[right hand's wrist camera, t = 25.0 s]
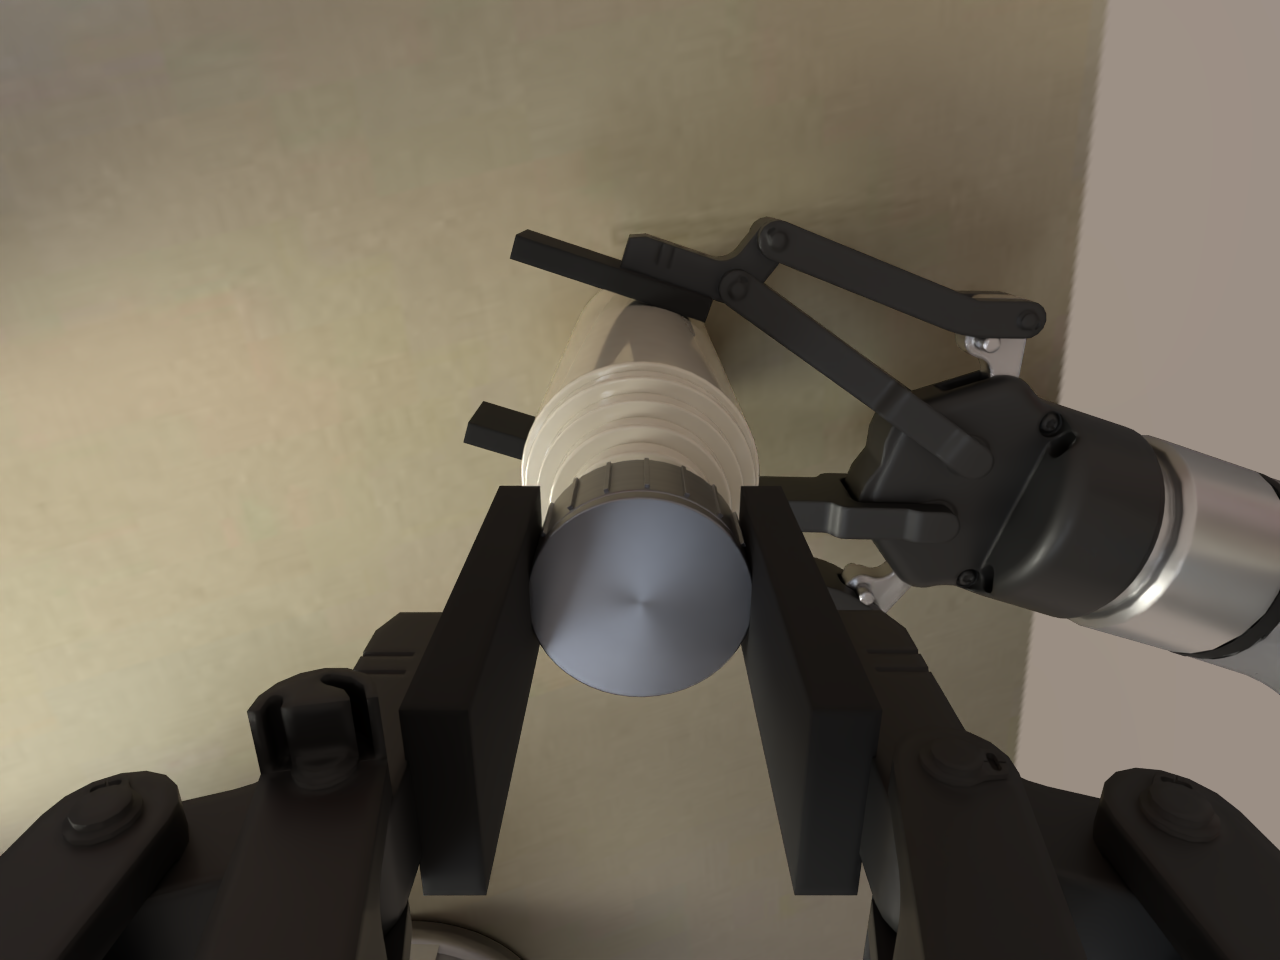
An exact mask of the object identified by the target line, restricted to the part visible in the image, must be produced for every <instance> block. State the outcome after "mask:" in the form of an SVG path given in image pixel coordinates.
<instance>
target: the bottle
mask: <svg viewBox="0 0 1280 960" xmlns="http://www.w3.org/2000/svg"><path fill="white" fill-rule="evenodd" d="M644 458H649V460H654V461H660V462H666V463H669V464H673V465H676V466H679V467H681V466H682V465H683V466H685V467H686V470H688V471H691V472H692V473H694V474H696V475H697V476H699V477H701V478H702V479H704V480H705V481H706V482H707V483H709V484H710V485H711V486H712V485H713V484H714V485H715V486H716V487H717V491H718V493H719V494H720V495H721V496H722V497H723V499H724V500H725V501H726V503H727V504H728V505H729V507H730V509H731V511H732V513H733V512H736V513H737V516H738V519H739V510H740V490H741V486H759V459H758V452H757V448H756V445H755V441H754V438H753V435H752V433H751V431H750V428H749V426H748V424H747V421H746V419H745V417H744V414H743V412H742V410H741V407H740V405H739V403H738V401H737V398H736V396H735V394H734V391H733V389H732V387H731V385H730V382H729V380H728V378H727V375H726V373H725V371H724V369H723V366H722V364H721V362H720V359H719V357H718V355H717V352H716V350H715V348H714V346H713V343H712V341H711V339H710V336H709V334H708V332H707V330H706V327H705V325H704V323H703V322H701V321H698V320H695V319H692V318H689V317H686V316H683V315H680V314H677V313H674V312H671V311H668V310H666V309H662V308H659V307H656V306H653V305H650V304H647V303H644V302H641V301H637V300H634V299H631V298H628V297H625V296H622V295H619V294H616V293H613V292H610V291H607V290H604V289H602V290H601V291H599V292H598V293H597V294H596V295H595V296H594V297H593V298H592V299H591V300H590V301H589V302H588V303H587V304H586V306H585V307H584V309H583V310H582V312H581V314H580V316H579V318H578V320H577V323H576V325H575V327H574V330H573V332H572V334H571V337H570V339H569V341H568V344H567V346H566V348H565V350H564V353H563V355H562V357H561V360H560V362H559V364H558V367H557V369H556V371H555V374H554V376H553V378H552V380H551V383H550V385H549V387H548V390H547V392H546V394H545V397H544V399H543V401H542V404H541V406H540V408H539V410H538V413H537V415H536V417H535V420H534V422H533V424H532V427H531V429H530V431H529V434H528V437H527V440H526V443H525V446H524V451H523V456H522V462H521V481H522V486H540V492H541V512H542V527H543V524H544V521H545V518H546V515H547V511H548V507H549V504H550V503H551V502H552V503H554V502H555V501H556V500H557V498H558V497H559V496H560V495H561V494H562V492H563V491H564V490H565V489H566V488H568V487H569V486H570V485H571V484H572V483H573V479H574V478H576V477H577V478H578V479H579V478H580V477H582V476H583V475H585V474H587V473H589V472H591V471H593V470H595V469H597V468H599V467H602V466H605V465H606V463H607V462H611V463H616V462H621V461H628V460H644Z"/></svg>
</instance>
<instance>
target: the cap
mask: <svg viewBox="0 0 1280 960" xmlns="http://www.w3.org/2000/svg"><path fill="white" fill-rule="evenodd" d="M745 546H746V544H745V540H744V537H743V533H742V530H741V526H740V523H739V519H738V516H737V513H736V512H733V513H732V511H731V509H730V507H729V505H728V504H727V503H726V501H725V500H724V499H723V497H722V496H721V495H720V494H719V493H718V491H717V487H716V486H715V485H714V484H713V485H712V486H711V485H710V484H709V483H707V482H706V481H705V480H704V479H702V478H701V477H699V476H697V475H696V474H694V473H692V472H691V471H688V470H686V467H685V466H683V465H682V466H681V467H679V466H676V465H673V464H669V463H666V462H660V461H654V460H649V458H644V460H628V461H621V462H616V463H611V462H607V463H606V465H605V466H602V467H599V468H597V469H595V470H593V471H591V472H589V473H587V474H585V475H583V476H582V477H580V478H579V479H578V478H577V477H576V478H574V479H573V483H572V484H571V485H570V486H569V487H568V488H566V489H565V490H564V491H563V492H562V494H561V495H560V496H559V497H558V498H557V500H556V501H555V502H554V503H552V502H551V503H550V504H549V507H548V511H547V515H546V518H545V521H544V524H543V527H542V531H541V534H540V538H539V541H538V545H537V549H536V552H535V556H534V559H533V563H532V566H531V570H530V574H529V593H530V610H531V625H532V629H533V631H534V633H535V635H536V638H537V640H538V642H539V643H540V645H541V646H542V648H543V649H544V651H545V652H546V654H547V655H548V656H549V657H550V658H551V659H552V660H553V661H554V663H555V664H557V665H558V666H559V667H560V668H561V669H562V670H563V671H565V672H566V673H567V674H569V675H570V676H572V677H573V678H575V679H576V680H578V681H580V682H582V683H584V684H586V685H588V686H590V687H592V688H595V689H598V690H600V691H603V692H607V693H611V694H615V695H622V696H629V697H649V696H659V695H665V694H670V693H674V692H677V691H680V690H683V689H686V688H688V687H691V686H693V685H695V684H698V683H699V682H701V681H703V680H704V679H706V678H708V677H710V676H711V675H712V674H713V673H715V672H716V671H717V670H719V669H720V668H721V667H722V666H723V665H724V664H725V663H726V662H727V661H728V660H729V659H730V658H731V657H732V656H733V654H734V653H735V652H736V651H737V649H738V648H739V646H740V644H741V643H742V641H743V639H744V638H745V636H746V633H747V631H748V628H749V624H750V608H751V592H752V573H751V570H750V566H749V562H748V559H747V555H746V552H745V548H744V547H745Z"/></svg>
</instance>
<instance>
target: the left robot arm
mask: <svg viewBox="0 0 1280 960" xmlns="http://www.w3.org/2000/svg"><path fill="white" fill-rule="evenodd" d="M510 259H513V260H516V261H519V262H522V263H525V264H528V265H531V266H534V267H537V268H540V269H543V270H546V271H549V272H552V273H555V274H558V275H561V276H564V277H567V278H571V279H574V280H577V281H580V282H583V283H586V284H589V285H592V286H595V287H598V288H601V289H604V290H607V291H610V292H613V293H616V294H619V295H622V296H625V297H628V298H631V299H634V300H637V301H641V302H644V303H647V304H650V305H653V306H656V307H659V308H662V309H666V310H668V311H671V312H674V313H677V314H680V315H683V316H686V317H689V318H692V319H695V320H698V321H701V322H704V323H705V321H706V318H707V315H708V312H709V310H710V307H711V304H712V301H713V300H716V301H719V302H722V303H725V304H726V305H727V306H729V307H730V308H731V309H733V310H734V311H736V312H737V313H738V314H740V315H741V316H743V317H744V318H745V319H747V320H748V321H750V322H751V323H752V324H754V325H755V326H757V327H758V328H759V329H761V330H762V331H764V332H765V333H766V334H768V335H769V336H771V337H772V338H773V339H775V340H776V341H778V342H779V343H780V344H782V345H783V346H785V347H786V348H787V349H789V350H790V351H791V352H793V353H794V354H796V355H797V356H798V357H800V358H801V359H803V360H804V361H805V362H807V363H808V364H810V365H811V366H812V367H814V368H815V369H817V370H818V371H819V372H821V373H822V374H824V375H825V376H826V377H828V378H829V379H831V380H832V381H833V382H835V383H836V384H838V385H839V386H840V387H842V388H843V389H845V390H846V391H847V392H849V393H850V394H852V395H853V396H854V397H856V398H857V399H859V400H860V401H861V402H863V403H864V404H866V405H867V406H868V407H870V408H871V409H872V410H874V411H875V414H874V416H873V418H872V421H871V423H870V425H869V430H868V436H867V442H866V446H865V448H864V449H863V450H862V452H861V453H860V454H859V456H858V457H857V458H856V459H855V461H854V462H853V463H852V465H851V467H850V469H849V472H848V474H843V473H824V474H820V475H819V476H817V477H770V476H759V486H781V487H782V489H783V491H784V493H785V495H786V498H787V500H788V502H789V504H790V507H791V509H792V511H793V513H794V515H795V518H796V520H797V522H798V524H799V526H800V529H801V531H802V532H823V533H828V534H831V535H833V536H835V537H838V538H843V539H872V541H873V542H874V544H875V545H876V547H877V548H878V549H879V551H880V552H881V554H882V555H883V557H884V558H885V560H886V562H884V563H883V564H882V565H880V566H878V567H874V568H870V567H866V566H862V565H856V564H854V563H850V564H847V565H846V566H845V568H844V570H843V569H841V568H839V567H837V566H836V565H834V564H831V563H829V562H827V561H824V560H821V559H818V558H814V560H815V562H816V564H817V566H818V568H819V571H820V573H821V575H822V577H823V579H824V582H825V584H826V586H827V588H828V590H829V593H830V595H831V597H832V599H833V602H834V604H835V606H836V608H837V610H882V611H883V612H885V613H886V612H887V611H888V610H889V609H890V608H891V607H892V606H893V605H894V604H895V603H896V602H897V601H898V599H899V598H900V597H901V596H902V595H903V594H904V593H905V592H906V591H907V590H908V589H909V588H910V587H911V586H914V587H921V588H922V587H931V586H936V585H954V586H958V587H961V588H963V589H966V590H968V591H971V592H974V593H976V594H979V595H982V596H985V597H989V598H992V599H996V600H999V601H1002V602H1006V603H1009V604H1012V605H1016V606H1019V607H1022V608H1026V609H1029V610H1032V611H1036V612H1039V613H1042V614H1046V615H1049V616H1053V617H1057V618H1067V619H1069V620H1071V621H1073V622H1074V623H1076V624H1078V625H1080V626H1084V627H1088V628H1091V629H1095V630H1098V631H1102V632H1105V633H1109V634H1112V635H1116V636H1119V637H1123V638H1126V639H1130V640H1133V641H1137V642H1140V643H1144V644H1148V645H1151V646H1155V647H1158V648H1162V649H1165V650H1168V651H1170V652H1173V653H1176V654H1179V655H1183V656H1189V657H1192V658H1195V659H1198V660H1201V661H1204V662H1208V663H1211V664H1214V665H1217V666H1220V667H1223V668H1226V669H1229V670H1233V671H1236V672H1239V673H1242V674H1245V675H1248V676H1250V677H1252V678H1254V679H1256V680H1258V681H1260V682H1262V683H1263V684H1265V685H1267V686H1269V687H1270V688H1272V689H1273V690H1274V691H1276V692H1277V693H1278V694H1279V695H1280V481H1279V480H1276V479H1273V478H1270V477H1268V476H1266V475H1264V474H1261V473H1258V472H1256V471H1253V470H1250V469H1247V468H1244V467H1241V466H1238V465H1235V464H1232V463H1229V462H1226V461H1223V460H1221V459H1218V458H1215V457H1212V456H1209V455H1206V454H1203V453H1200V452H1197V451H1194V450H1191V449H1188V448H1185V447H1183V446H1180V445H1177V444H1174V443H1171V442H1168V441H1165V440H1162V439H1159V438H1155V437H1152V436H1149V435H1140V434H1139V433H1137V432H1136V431H1134V430H1132V429H1129V428H1127V427H1124V426H1121V425H1118V424H1115V423H1112V422H1109V421H1106V420H1103V419H1100V418H1097V417H1094V416H1091V415H1088V414H1085V413H1082V412H1079V411H1076V410H1073V409H1070V408H1067V407H1064V406H1061V405H1058V404H1055V403H1052V402H1049V401H1046V400H1043V399H1041V398H1039V397H1038V396H1037V395H1036V394H1035V393H1034V392H1033V391H1032V389H1031V388H1030V386H1029V385H1028V384H1027V383H1026V382H1025V381H1023V380H1022V379H1020V378H1019V374H1020V369H1021V364H1022V359H1023V354H1024V349H1025V344H1026V339H1027V338H1032V337H1033V336H1035V335H1037V334H1038V333H1039V332H1040V331H1041V330H1042V329H1043V327H1044V325H1045V322H1046V312H1045V310H1044V308H1043V307H1042V306H1041V305H1040V304H1038V303H1036V302H1033V301H1029V300H1026V299H1024V298H1020V297H1017V296H1014V295H1011V294H1007V293H1004V292H999V291H954V290H951V289H949V288H947V287H944V286H942V285H939V284H937V283H934V282H932V281H929V280H927V279H925V278H922V277H920V276H917V275H915V274H912V273H910V272H908V271H905V270H903V269H900V268H898V267H895V266H893V265H890V264H888V263H886V262H883V261H881V260H878V259H876V258H873V257H871V256H868V255H866V254H864V253H861V252H859V251H856V250H854V249H851V248H849V247H847V246H844V245H842V244H839V243H837V242H834V241H832V240H829V239H827V238H825V237H822V236H820V235H817V234H815V233H812V232H810V231H807V230H805V229H803V228H800V227H798V226H795V225H793V224H790V223H788V222H785V221H782V220H779V219H776V218H772V217H763V218H759V219H758V220H757V221H755V222H754V223H753V225H752V226H751V228H750V231H749V233H748V234H747V235H746V236H745V238H744V239H743V240H742V241H741V243H740V244H739V245H738V247H737V248H736V249H735V250H734V251H733V252H731V253H729V254H728V255H725V256H720V257H715V256H710V255H708V254H705V253H702V252H699V251H696V250H693V249H690V248H687V247H684V246H681V245H678V244H675V243H672V242H669V241H666V240H663V239H660V238H657V237H654V236H652V235H649V234H646V233H645V234H631V235H629V238H628V241H627V245H626V248H625V251H624V255H623V258H622V261H621V260H618V259H615V258H612V257H609V256H606V255H603V254H600V253H597V252H594V251H591V250H588V249H585V248H582V247H579V246H576V245H573V244H570V243H567V242H564V241H561V240H558V239H555V238H552V237H549V236H546V235H543V234H540V233H537V232H534V231H531V230H528V229H527V230H525V231H523V232H521V233H519V234H517V235H516V237H515V241H514V245H513V249H512V252H511V256H510ZM779 263H781V264H784V265H786V266H789V267H791V268H793V269H796V270H798V271H801V272H803V273H806V274H808V275H811V276H813V277H816V278H818V279H821V280H823V281H826V282H828V283H831V284H833V285H836V286H838V287H841V288H843V289H846V290H848V291H851V292H853V293H856V294H858V295H861V296H863V297H866V298H868V299H871V300H873V301H876V302H878V303H881V304H883V305H886V306H888V307H891V308H893V309H896V310H898V311H901V312H903V313H906V314H908V315H910V316H913V317H915V318H918V319H920V320H923V321H925V322H928V323H930V324H933V325H935V326H938V327H940V328H943V329H945V330H948V331H951V332H954V333H956V334H955V340H956V344H957V345H958V347H959V348H960V349H962V350H963V351H965V352H967V353H968V354H970V355H972V356H975V357H977V358H978V360H979V362H980V370H978V371H975V372H972V373H968V374H965V375H962V376H959V377H955V378H952V379H949V380H945V381H942V382H939V383H936V384H932V385H929V386H926V387H922V388H919V389H916V390H913V391H911V390H910V389H908V388H907V387H906V386H904V385H903V384H902V383H900V382H899V381H898V380H896V379H895V378H893V377H892V376H891V375H889V374H888V373H887V372H885V371H884V370H882V369H881V368H880V367H878V366H877V365H875V364H874V363H873V362H871V361H870V360H869V359H867V358H866V357H864V356H863V355H862V354H860V353H859V352H858V351H856V350H855V349H853V348H852V347H851V346H849V345H848V344H847V343H845V342H844V341H843V340H841V339H840V338H838V337H837V336H836V335H834V334H833V333H832V332H830V331H829V330H828V329H826V328H825V327H823V326H822V325H821V324H819V323H818V322H817V321H815V320H814V319H813V318H811V317H810V316H808V315H807V314H806V313H804V312H803V311H802V310H800V309H799V308H798V307H796V306H795V305H793V304H792V303H791V302H789V301H788V300H787V299H785V298H784V297H782V296H781V295H780V294H778V293H777V292H776V291H774V290H773V289H772V288H770V287H769V286H767V285H766V284H765V283H764V281H765V280H766V279H767V278H768V277H769V275H770V274H771V273H772V272H773V270H774V269H775V268H776V267H777V266H778V264H779ZM712 299H713V300H712ZM534 420H535V417H534V416H531V415H527V414H524V413H521V412H518V411H514V410H511V409H508V408H504V407H501V406H498V405H495V404H491V403H488V402H485V401H483V402H482V404H481V405H480V407H479V408H478V409H477V411H476V412H475V414H474V415H473V417H472V418H471V420H470V421H469V422H468V426H467V430H466V434H465V438H464V443H467V444H470V445H474V446H477V447H480V448H484V449H487V450H490V451H494V452H497V453H500V454H504V455H507V456H510V457H514V458H517V459H521V460H522V456H523V451H524V446H525V443H526V440H527V437H528V434H529V431H530V429H531V427H532V424H533V422H534ZM411 922H412V939H411V951H410V960H521V959H520V958H519V957H518V956H517V955H515V954H514V953H513V952H511V951H510V950H509V949H507V948H506V947H504V946H503V945H501V944H499V943H497V942H496V941H494V940H492V939H490V938H488V937H485V936H483V935H481V934H478V933H476V932H473V931H470V930H467V929H464V928H460V927H457V926H453V925H448V924H442V923H436V922H427V921H411Z"/></svg>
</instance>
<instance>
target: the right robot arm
mask: <svg viewBox="0 0 1280 960" xmlns="http://www.w3.org/2000/svg"><path fill="white" fill-rule="evenodd" d="M739 523H740V526H741V530H742V533H743V537H744V540H745V544H746V546H745V547H744V548H745V552H746V555H747V559H748V562H749V566H750V570H751V573H752V592H751V608H750V624H749V628H748V631H747V633H746V636H745V638H744V639H743V641H742V643H741V646H742V651H743V656H744V660H745V665H746V670H747V674H748V679H749V684H750V688H751V693H752V698H753V702H754V707H755V712H756V716H757V721H758V726H759V730H760V735H761V740H762V745H763V749H764V754H765V759H766V763H767V768H768V773H769V777H770V782H771V787H772V791H773V796H774V801H775V805H776V810H777V815H778V819H779V824H780V829H781V833H782V838H783V843H784V848H785V852H786V857H787V862H788V866H789V871H790V876H791V880H792V885H793V890H794V894H795V895H857V892H858V885H859V878H860V871H861V863H863V866H864V869H865V872H866V876H867V879H868V882H869V885H870V888H871V891H872V894H873V895H872V902H871V909H870V915H869V922H868V929H867V936H866V943H865V949H864V956H863V960H1280V850H1279V849H1278V848H1277V847H1276V846H1274V844H1272V843H1271V842H1270V841H1269V840H1268V839H1267V838H1266V837H1265V836H1264V835H1263V834H1262V833H1261V832H1260V831H1259V830H1258V829H1257V828H1256V827H1255V826H1254V825H1253V824H1252V823H1251V822H1250V821H1249V820H1248V819H1247V818H1246V817H1245V816H1244V815H1243V814H1242V813H1241V812H1240V811H1239V810H1238V809H1236V808H1235V807H1234V806H1233V805H1231V804H1230V803H1229V802H1227V801H1226V800H1225V799H1223V798H1222V797H1221V796H1220V795H1218V794H1217V793H1215V792H1213V791H1212V790H1210V789H1208V788H1206V787H1204V786H1202V785H1200V784H1198V783H1196V782H1194V781H1192V780H1190V779H1188V778H1184V777H1181V776H1178V775H1175V774H1171V773H1168V772H1165V771H1162V770H1153V769H1143V768H1132V769H1128V770H1123V771H1118V772H1115V773H1114V774H1113V775H1112V776H1111V777H1110V778H1109V779H1108V780H1107V781H1106V782H1105V783H1104V787H1103V791H1102V794H1101V798H1096V797H1091V796H1087V795H1083V794H1078V793H1074V792H1069V791H1065V790H1060V789H1056V788H1052V787H1047V786H1044V785H1041V784H1037V783H1034V782H1031V781H1028V780H1025V779H1023V778H1021V777H1020V774H1019V772H1018V771H1017V769H1016V768H1015V766H1014V764H1013V763H1012V761H1011V760H1010V758H1009V757H1008V756H1007V755H1006V754H1004V753H1003V752H1002V751H1001V750H999V749H998V748H997V747H996V746H995V745H993V744H992V743H991V742H989V741H987V740H985V739H982V738H980V737H978V736H976V735H974V734H972V733H970V732H967V731H965V729H964V727H963V726H962V724H961V722H960V721H959V719H958V717H957V715H956V714H955V712H954V710H953V709H952V707H951V705H950V703H949V702H948V700H947V698H946V697H945V695H944V693H943V691H942V690H941V688H940V686H939V685H938V683H937V681H936V680H935V678H934V676H933V674H932V673H931V672H929V671H928V666H927V664H926V662H925V661H924V659H923V657H922V656H921V654H918V649H917V647H916V645H915V644H914V642H913V640H912V639H911V637H910V635H909V633H908V632H907V630H906V628H904V627H903V626H902V625H900V624H899V623H898V622H896V621H895V620H894V619H892V618H891V617H890V616H889V615H887V614H886V613H885V612H883V611H882V610H837V608H836V606H835V604H834V602H833V599H832V597H831V595H830V593H829V590H828V588H827V586H826V584H825V582H824V579H823V577H822V575H821V573H820V571H819V568H818V566H817V564H816V562H815V560H814V557H813V555H812V553H811V551H810V549H809V546H808V544H807V542H806V540H805V537H804V535H803V533H802V531H801V529H800V526H799V524H798V522H797V520H796V518H795V515H794V513H793V511H792V509H791V507H790V504H789V502H788V500H787V498H786V495H785V493H784V491H783V489H782V487H781V486H741V490H740V510H739ZM541 531H542V512H541V492H540V486H499V489H498V491H497V493H496V495H495V498H494V500H493V502H492V504H491V506H490V509H489V511H488V513H487V515H486V517H485V520H484V522H483V524H482V526H481V528H480V531H479V533H478V535H477V537H476V540H475V542H474V544H473V546H472V548H471V551H470V553H469V555H468V557H467V559H466V562H465V564H464V566H463V568H462V570H461V573H460V575H459V577H458V579H457V582H456V584H455V586H454V588H453V590H452V593H451V595H450V597H449V599H448V601H447V604H446V606H445V608H444V610H443V612H400V613H398V614H397V615H396V616H395V617H393V618H392V619H391V620H389V621H388V622H387V623H385V624H384V625H383V626H381V627H380V628H379V629H377V630H376V631H375V633H374V635H373V636H372V638H371V640H370V641H369V643H368V645H367V647H366V648H365V650H364V652H363V656H361V657H360V659H359V660H358V662H357V664H356V666H355V667H354V669H353V670H352V669H348V668H323V669H318V670H313V671H309V672H304V673H300V674H297V675H295V676H293V677H290V678H288V679H285V680H283V681H281V682H278V683H276V684H275V685H274V686H272V687H271V688H269V689H268V690H267V691H265V692H264V693H262V694H261V695H260V696H258V698H257V699H256V700H255V702H254V703H253V704H252V706H251V707H250V708H249V710H248V711H247V714H248V718H249V723H250V727H251V732H252V736H253V740H254V745H255V749H256V754H257V758H258V763H259V767H260V772H261V775H260V778H259V781H258V782H256V783H254V784H251V785H247V786H244V787H241V788H237V789H234V790H230V791H225V792H221V793H216V794H212V795H208V796H203V797H199V798H194V799H190V800H186V801H181V797H180V794H179V790H178V787H177V785H176V784H175V783H174V782H173V781H172V780H171V779H170V778H169V777H168V776H167V775H164V774H159V773H154V772H149V771H140V772H130V773H121V774H117V775H114V776H111V777H108V778H104V779H101V780H98V781H95V782H92V783H90V784H88V785H86V786H84V787H83V788H81V789H79V790H77V791H75V792H73V793H71V794H69V795H67V796H65V797H64V798H63V799H61V800H60V801H59V802H58V803H56V804H55V805H54V806H53V807H51V808H50V809H49V810H48V811H46V812H45V813H44V814H42V815H41V816H40V817H39V818H38V819H37V820H36V821H35V822H34V823H33V824H32V825H31V826H30V827H29V828H28V829H27V830H26V831H25V832H24V833H23V834H22V835H21V836H20V837H19V838H18V839H17V840H16V841H15V842H14V843H13V844H12V845H11V846H10V847H9V848H8V849H7V850H6V851H5V852H4V853H3V854H2V855H1V856H0V960H410V951H411V939H412V922H411V915H410V909H409V902H408V898H409V895H410V892H411V888H412V885H413V882H414V879H415V876H416V873H417V870H418V867H419V864H420V871H421V879H422V886H423V893H424V895H486V894H487V889H488V884H489V880H490V875H491V870H492V866H493V861H494V856H495V852H496V847H497V842H498V838H499V833H500V828H501V824H502V819H503V814H504V809H505V805H506V800H507V795H508V791H509V786H510V781H511V777H512V772H513V767H514V763H515V758H516V753H517V749H518V744H519V739H520V735H521V730H522V725H523V720H524V716H525V711H526V706H527V702H528V697H529V692H530V688H531V683H532V678H533V674H534V669H535V664H536V660H537V655H538V650H539V646H540V643H539V642H538V640H537V638H536V635H535V633H534V631H533V629H532V625H531V610H530V593H529V574H530V570H531V566H532V563H533V559H534V556H535V552H536V549H537V545H538V541H539V538H540V534H541Z"/></svg>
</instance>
